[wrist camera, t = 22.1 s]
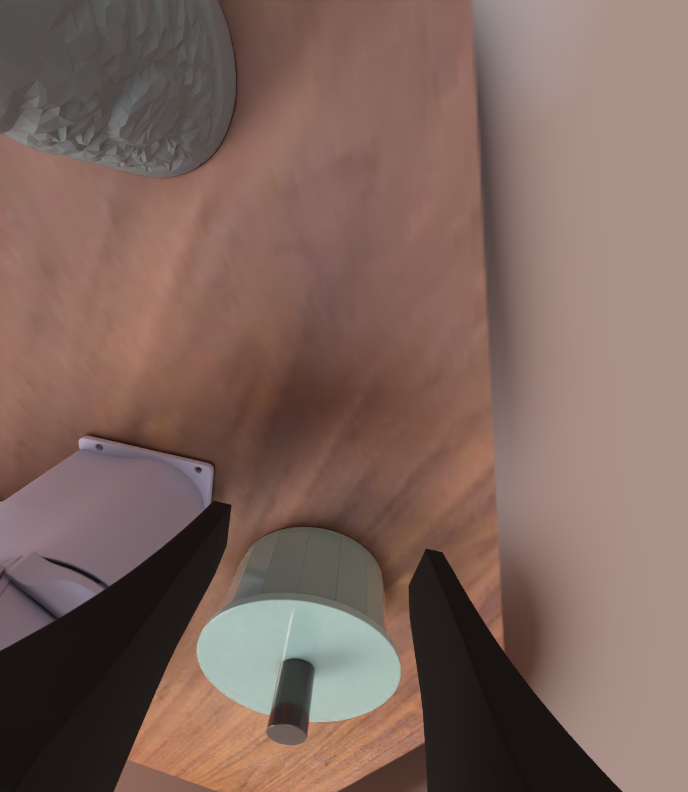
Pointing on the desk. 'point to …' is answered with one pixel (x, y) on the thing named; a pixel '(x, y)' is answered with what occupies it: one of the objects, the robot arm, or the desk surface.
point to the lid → (298, 660)
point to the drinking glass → (118, 81)
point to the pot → (312, 570)
